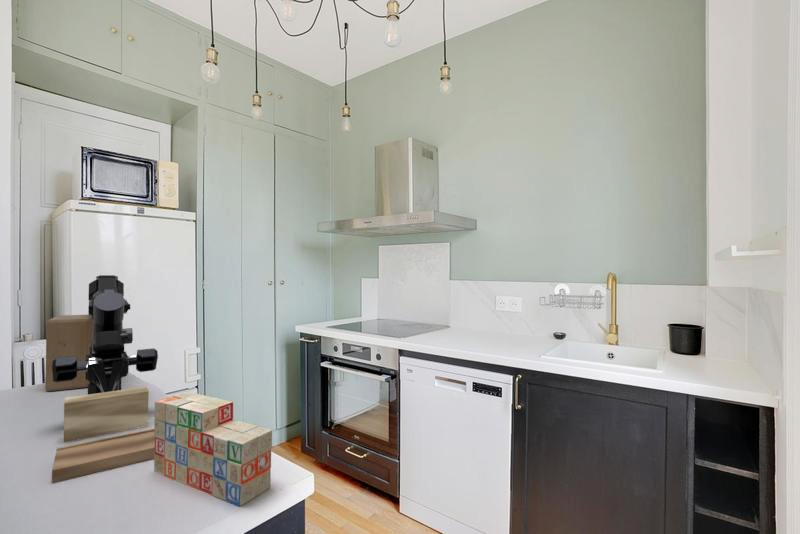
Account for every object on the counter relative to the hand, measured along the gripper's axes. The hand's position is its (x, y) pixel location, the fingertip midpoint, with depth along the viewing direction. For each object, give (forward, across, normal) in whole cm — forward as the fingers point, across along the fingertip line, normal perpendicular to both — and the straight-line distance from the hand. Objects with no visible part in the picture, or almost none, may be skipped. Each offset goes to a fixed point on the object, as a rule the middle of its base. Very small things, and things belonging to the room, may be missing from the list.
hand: (108, 397), depth 84 cm
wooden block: (-26, -8, +36) cm, 45 cm away
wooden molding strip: (+16, 0, -6) cm, 17 cm away
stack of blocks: (+29, +13, -18) cm, 37 cm away
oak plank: (+6, 0, +4) cm, 7 cm away
